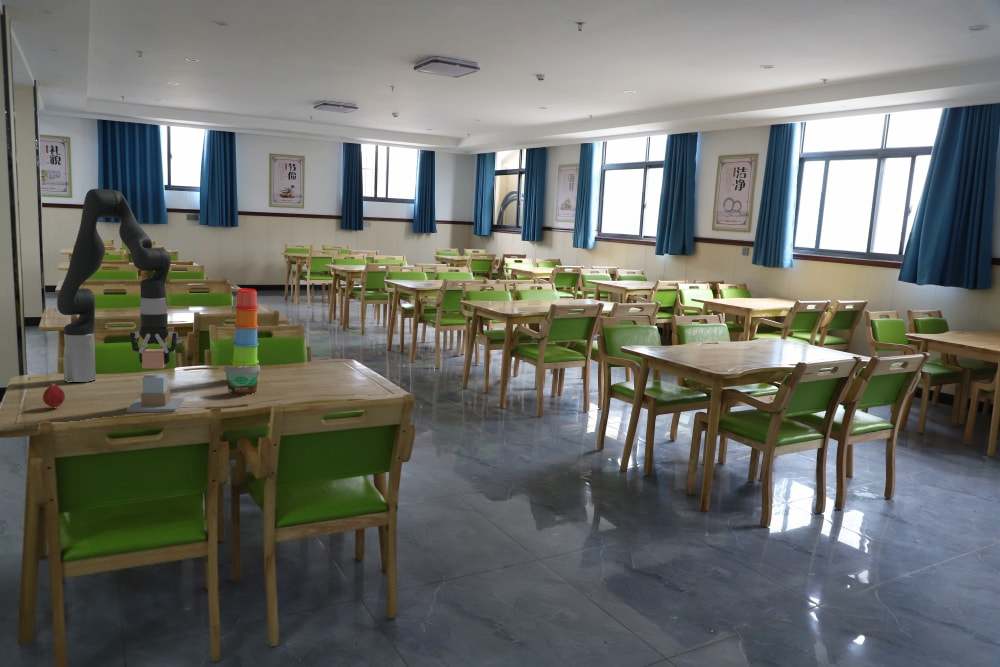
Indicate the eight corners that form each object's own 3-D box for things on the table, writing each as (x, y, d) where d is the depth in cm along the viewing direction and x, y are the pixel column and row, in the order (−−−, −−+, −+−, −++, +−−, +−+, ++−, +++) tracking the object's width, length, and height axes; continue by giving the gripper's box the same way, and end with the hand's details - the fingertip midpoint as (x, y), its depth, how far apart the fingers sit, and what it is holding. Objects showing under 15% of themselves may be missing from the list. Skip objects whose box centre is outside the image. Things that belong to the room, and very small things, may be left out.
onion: (49, 405, 230) (48, 381, 229) (68, 406, 231) (67, 381, 230) (39, 410, 225) (38, 385, 224) (59, 411, 225) (58, 385, 224)
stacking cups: (258, 376, 284) (258, 287, 278) (259, 382, 274) (258, 290, 269) (230, 377, 280) (229, 287, 275) (229, 383, 271) (228, 290, 266)
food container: (226, 397, 251) (225, 368, 249) (223, 393, 256) (223, 365, 255) (263, 394, 257) (263, 366, 255) (260, 390, 262) (260, 363, 261)
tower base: (126, 412, 227) (126, 396, 226) (137, 401, 241) (137, 386, 240) (175, 411, 230) (174, 396, 230) (183, 400, 244) (183, 386, 243)
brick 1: (142, 368, 230) (141, 352, 229) (146, 364, 236) (146, 349, 235) (163, 368, 231) (162, 352, 230) (167, 364, 237) (166, 349, 236)
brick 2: (143, 393, 231) (142, 378, 230) (147, 389, 237) (146, 373, 236) (163, 393, 233) (163, 377, 232) (167, 388, 238) (167, 373, 238)
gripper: (125, 313, 226) (127, 366, 228) (175, 313, 229) (176, 366, 231) (131, 310, 233) (133, 362, 235) (180, 310, 236) (181, 362, 239)
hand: (154, 364), depth 233 cm, fingers closed on brick 1, 6 cm apart
